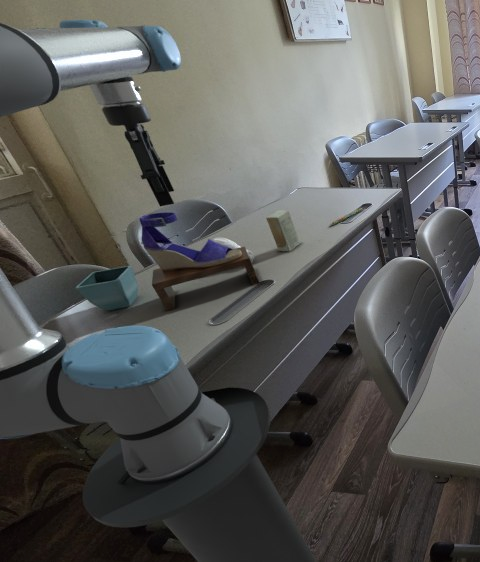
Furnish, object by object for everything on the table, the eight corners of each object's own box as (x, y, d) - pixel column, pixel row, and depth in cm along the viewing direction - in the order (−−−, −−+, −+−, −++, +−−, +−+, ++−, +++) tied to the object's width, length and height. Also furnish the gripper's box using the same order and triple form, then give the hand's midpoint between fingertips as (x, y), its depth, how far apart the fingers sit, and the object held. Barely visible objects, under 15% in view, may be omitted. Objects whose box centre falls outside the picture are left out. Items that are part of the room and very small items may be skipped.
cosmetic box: (289, 243, 138) (277, 209, 131) (300, 243, 137) (289, 209, 131) (277, 251, 132) (264, 217, 126) (289, 252, 132) (277, 217, 125)
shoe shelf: (166, 310, 104) (151, 284, 100) (167, 294, 111) (153, 269, 107) (259, 282, 115) (249, 258, 110) (254, 269, 122) (244, 246, 118)
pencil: (331, 227, 148) (362, 210, 163) (330, 224, 148) (362, 207, 162) (328, 226, 149) (360, 210, 163) (327, 224, 148) (359, 207, 162)
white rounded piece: (217, 233, 124) (254, 236, 124) (225, 257, 129) (261, 260, 128) (202, 242, 119) (241, 245, 118) (212, 267, 123) (249, 270, 123)
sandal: (236, 264, 107) (212, 211, 100) (153, 275, 104) (123, 222, 96) (245, 251, 114) (224, 201, 107) (168, 261, 111) (141, 210, 103)
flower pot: (94, 317, 103) (73, 287, 98) (110, 299, 110) (92, 271, 106) (134, 309, 105) (116, 280, 101) (147, 293, 112) (131, 265, 108)
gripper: (140, 106, 80) (186, 207, 91) (146, 99, 98) (184, 184, 109) (91, 110, 77) (145, 215, 87) (107, 102, 94) (151, 190, 105)
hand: (167, 198), depth 98 cm, fingers open, 13 cm apart
